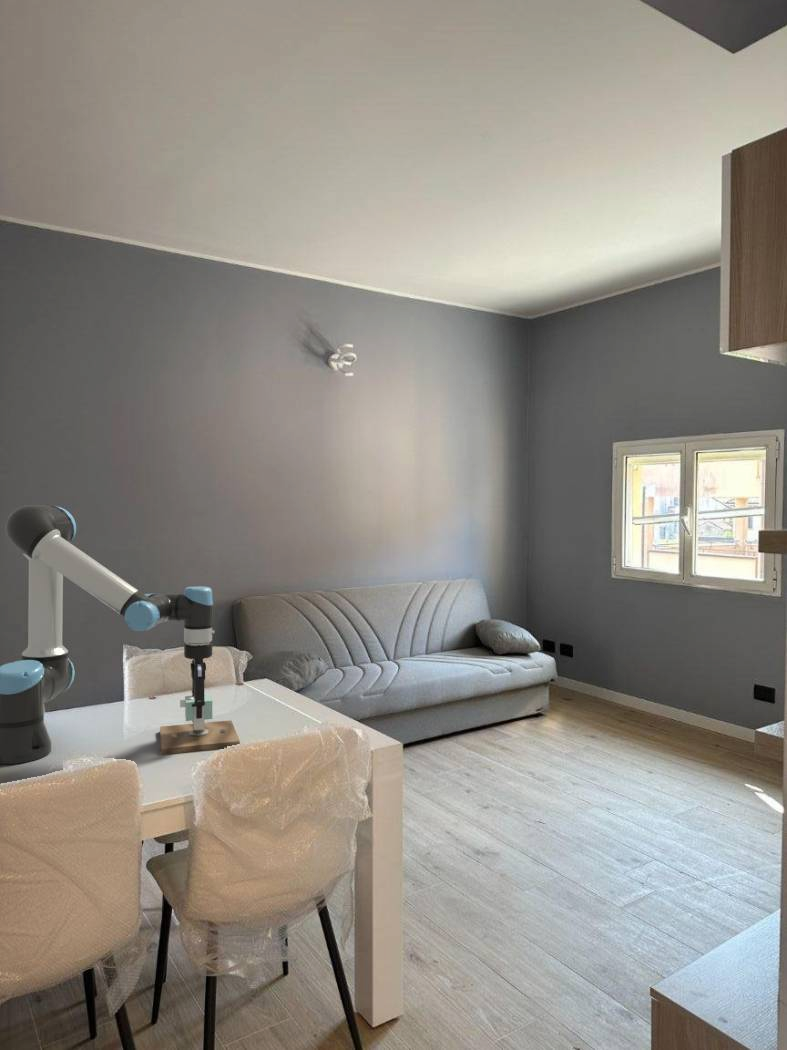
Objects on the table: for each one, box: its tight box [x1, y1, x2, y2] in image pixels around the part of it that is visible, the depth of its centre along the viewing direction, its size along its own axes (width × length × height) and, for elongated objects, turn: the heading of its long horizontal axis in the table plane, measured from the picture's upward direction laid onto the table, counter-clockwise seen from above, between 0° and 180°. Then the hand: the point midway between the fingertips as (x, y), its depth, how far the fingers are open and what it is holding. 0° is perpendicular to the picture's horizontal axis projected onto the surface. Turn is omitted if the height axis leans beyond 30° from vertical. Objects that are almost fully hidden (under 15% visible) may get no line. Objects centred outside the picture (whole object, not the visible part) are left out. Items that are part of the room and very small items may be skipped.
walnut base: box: [159, 719, 241, 755], centre depth 201 cm, size 20×20×6 cm
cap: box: [179, 694, 213, 722], centre depth 201 cm, size 8×7×5 cm
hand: (198, 725), depth 201 cm, fingers closed on cap, 7 cm apart
